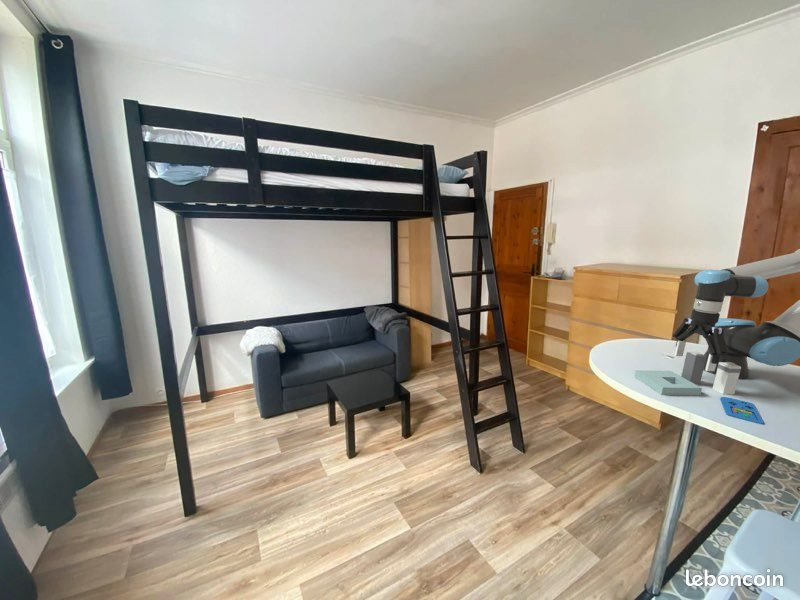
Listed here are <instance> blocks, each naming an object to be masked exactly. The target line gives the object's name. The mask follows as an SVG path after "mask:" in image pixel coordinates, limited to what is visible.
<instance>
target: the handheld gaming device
mask: <svg viewBox="0 0 800 600" xmlns="http://www.w3.org/2000/svg"><path fill="white" fill-rule="evenodd" d="M719 400H720V402H721V405H722V408H723V410H724V413H725V415H726V416H728V417H732V418H734V419H739V420H744V421H746V422H750V423H755V424H759V425H764V424H765V422H764V420H763V418H762V416H761V415H760V414H759V411H758V410H757V408H756V406H755V405H754V403H753V402H750V401H745V400H741V399H737V398H732V397H728V396H721V397H720V398H719Z"/></svg>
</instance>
